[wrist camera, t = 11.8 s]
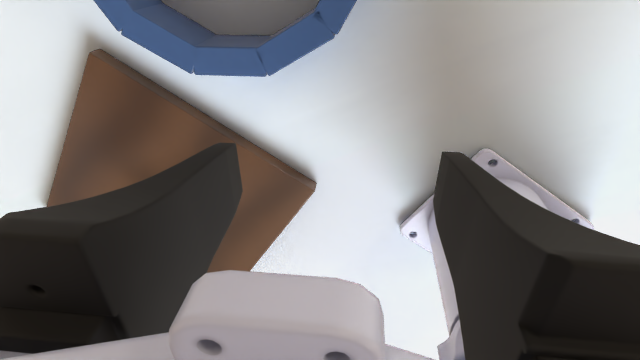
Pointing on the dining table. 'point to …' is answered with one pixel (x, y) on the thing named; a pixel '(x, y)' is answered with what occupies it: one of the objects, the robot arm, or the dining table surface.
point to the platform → (168, 155)
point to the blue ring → (223, 37)
